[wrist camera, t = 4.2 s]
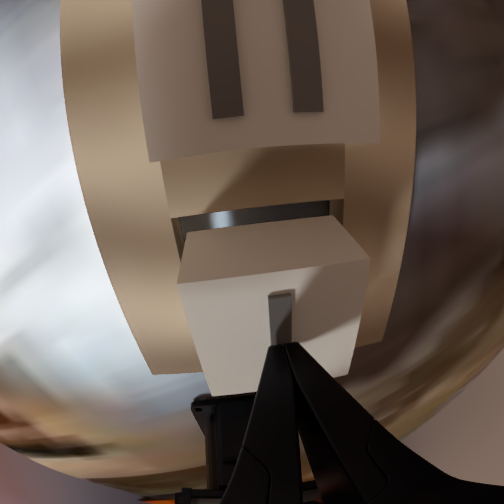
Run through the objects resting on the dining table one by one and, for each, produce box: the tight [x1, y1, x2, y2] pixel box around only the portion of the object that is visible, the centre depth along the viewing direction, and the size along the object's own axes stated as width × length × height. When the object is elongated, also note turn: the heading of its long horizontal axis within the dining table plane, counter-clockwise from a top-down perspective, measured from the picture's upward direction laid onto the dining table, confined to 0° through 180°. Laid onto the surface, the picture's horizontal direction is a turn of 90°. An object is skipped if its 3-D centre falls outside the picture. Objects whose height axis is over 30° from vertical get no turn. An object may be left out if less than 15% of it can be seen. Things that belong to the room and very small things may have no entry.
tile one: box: [177, 215, 371, 396], centre depth 10 cm, size 5×5×3 cm
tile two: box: [132, 0, 380, 163], centre depth 6 cm, size 5×5×3 cm
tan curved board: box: [60, 0, 416, 375], centre depth 8 cm, size 26×12×2 cm, turn 5°
